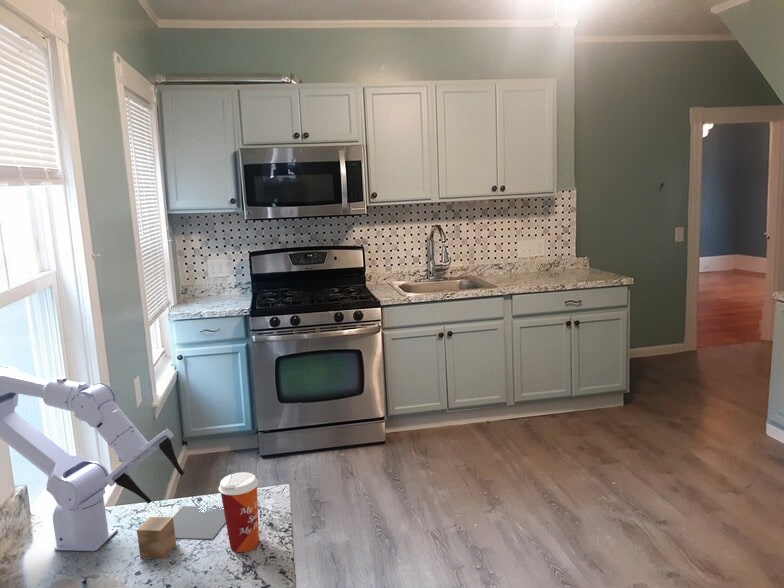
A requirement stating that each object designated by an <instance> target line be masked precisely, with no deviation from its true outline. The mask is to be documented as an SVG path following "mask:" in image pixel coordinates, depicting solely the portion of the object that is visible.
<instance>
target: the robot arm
mask: <svg viewBox="0 0 784 588" xmlns="http://www.w3.org/2000/svg"><path fill="white" fill-rule="evenodd" d="M114 391H115V390H114V389H113V388H112V387H111V386H110V385H108V384H106V383H104V382H97V383H94V384H93V385H92V384H91V385H89V384H88V383H87V382H84V381H83V382H77V381H74V380H73V381H72V380H68V378H67V377H66V376H63V375H62V376H58V377H56V378H53V379H51V380H46V379H42V378H40V377H37V376H33V375H31V374H28V373H25V372H21V371H20V370H19V369H18V367H15V366H10V365H6V364H5V365H1V366H0V440H2V441H4V442H5V444H7V445H8V446H10V447H11V448H12V449H13V450H15V452H17V453H18V454H20V456H22V457H23V458H24V459H26V460H27V461H28V462H30V463H31V464H32V465H34V466H35V467H36V468H37V469H39V470H40V471H41V472H42V473H43V474H44V475H46V476H47V477H48V478H47V482H46V491H47V492H48V493H49V494H50V495H51V496H52V497H53V498H54V500H55V503H57V505H56V506H55V508H54V510H53V513H52V524H53V530H54V531H53V532H54V537H55V543H56V545H55V546H54V547H53V548H54V551H77V552H96V551H98V550H99V549H100V548H101V547H102V546H103V545H104V544H105V543H106V542H108V540H109V539H111V537H113V536H114V535H115V534H116V533H117V532H118V531H119V530H118V528H117V527H115V528H114V527H111V528H110V527H108V520H107V519H108V518H107V512H106V506H105V499H104V496H105V494H106V489H105V488H106V487H108V486H109V487H113V486H114V485H115V484H116V485H117V486H119V487H122V488H124V489H126V490H128V491H130V492H132V493H134V494H135V495H137V497H140V498H141V499H142V500H143V501H145V502H146V504H149V505H150V503H151V502H152V499H150V497H149V496H148V495H147V494H146V493H145V492H144V491H143V490H142V489H141V488H140V487H139V486H138V485H137V483H136V482H135V481H134V479H132V477H131V476H130V474H128V473H129V472H131V471H132V470H133V469H134V468H136V467H137V466H138V465H140V464H141V463H142V462H143V461H144V460H145V459H146V458H148V457H149V456H150V455H151V454H153V453H154V452H155V451H157V450H158V449H159V450H160V451H161V452H162V453H163V454H164V456H166V458H167V460H168V461H170V463H171V464H172V466H173V467H174V468H175V470H176V471H177V473H178V474H179V475H180V476H184V474H185V472H184V471H183V469H182V468H181V466H180V464H179V461H178V459H177V457H176V454H175V450H174V447H173V444H172V440H171V439H172V438H173V437H175V436H174V434H173V432H172V431H171V430H170V429H169V428H168V427H167V428H166V429H164V430H163V431H162V432H160V433H159V434H158V435H156V436H155V437H154V438H152V439H151V440H150V441H148V440H147V439H146V438H145V436H144V435H143V434H142V433H141V432H140V431H139V429H138V428H137V427H136V426H135V425H134V423H133V422H132V421H131V420H130V419H129V417H128V416H127V415H126V414H125V413H124V412H123V410H122V409H121V408H120V407H119V405H118V404H117V403H116V400H117V399H116V394H115V392H114ZM19 394H20V395H22V396H23V395H24V396H29V397H35V398H39V399H40V398H41V399H42V401H43V402H44V404H45V405H47V406H49V407H53V408H57V409H60V410H64V411H69V412H73V413H74V414H73V416H74V417H75V418H77V420H79V421H83V422H85V423H87V425H88V426H89V427H90V428H91V427H92V428H94V429H95V430H96V431H97V433H98V434H100V436H101V437H102V438H103V440H104V441H105V442H106V443H107V444H108V445H109V446H110V448H111V449H112V450H113V451H114V453H115V454H116V456H118V457H119V460H121V461H122V463H121V464H120V465H119V466H117V467H116V468H115V469H114V470H113V471H111V472H110V473H109V471H108V469H107V468H106V467H105V465H104V464H102V463H101V462H99V461H94V460H92V459H90V458H89V457H87V456H86V455H71V454H70V453H68V452H67V451H66V450H64V449H63V448H62V447H60V446H59V445H58V444H57V443H56V442H54V441H52V440H51V438H50V437H48V436H47V435H45V434H44V433H42V432H41V431H40V430H38V429H37V428H36V427H35V426H34V425H32V424H31V423H30V422H29V421H27V420H26V419H24V418H23V417H22V416H21V415H19V414H18V413H17V412H16V411H15V409H16V407H18V404H19ZM133 463H134V464H133Z"/></svg>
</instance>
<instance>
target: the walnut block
mask: <svg viewBox="0 0 784 588" xmlns="http://www.w3.org/2000/svg"><path fill="white" fill-rule="evenodd" d="M136 536H137V543H138V551H139V557H140V559H158V560H159V559H163V560H164V559H165V558H167V556H168V555H169V553H171V551H172V550H173V549H174V548H175V547H176V546H177V541H176V540H177V539H176V538H175V530H174V522H173V516H172V517H171V516H169V517H168V516H167V517H166V516H165V517H164V516H150V517H148V518H147V519H146V520H145V521H144V522H143V523H142V524H141V525H140V526H139V527H138V528H137V529H136Z"/></svg>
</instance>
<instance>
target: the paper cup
mask: <svg viewBox="0 0 784 588" xmlns="http://www.w3.org/2000/svg"><path fill="white" fill-rule="evenodd" d="M258 486H259V480H258V479H257V477H256V475H255V474H253V473H251V472H244V471H243V472H242V471H241V472H234V473H231V474H228V475H225V476H224V477H223V478H222V479H221V480H220V483H219V486H218V492H219V493H220V497H221V502H222V507H223V508H224V514H225V520H226V523H225V525H226V529H227V530H226V531H227V536H228V541H229V545H230V547H229V548H230V549H231V551H232V552H235V553H246V552H249V551H252V550H254V549H256V547H258V546H259V541H260V539H259V538H260V537H259V536H260V535H259V534H260V533H259V532H260V531H259V530H260V529H259V528H260V527H259V510H258V509H259V506H258V501H259V500H258Z"/></svg>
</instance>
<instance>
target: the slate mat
mask: <svg viewBox="0 0 784 588" xmlns="http://www.w3.org/2000/svg"><path fill="white" fill-rule="evenodd" d="M198 506H199V505H198ZM198 506H193V505H189V506H188V505H183V506H181V508H180V509H179V510H178V511H177V512H176V513H175V514H174V515H173V516H172V517H173V522H174V530H175V538H176V540H177V539H178V540H179V539H180V540H186V539H187V540H214V539H215V537H216V536H217V535H218V534H219V532H220V531H221V529H222V528H224V525H226V520H225V514H224V509H222V508H223V506H214V507H215V508H216V509H212V508H209V509H210V510H209V509H207V511H206V512H204V513H203V512H201V511H202V510H203V509H202V510H201V509H198V508H200V506H201V505H200V506H199V507H198ZM219 507H220V508H219ZM221 507H222V508H221ZM220 509H221V510H220ZM200 510H201V511H200ZM208 510H209V511H208ZM211 510H212V511H211ZM199 511H200V512H199ZM204 511H205V510H204Z"/></svg>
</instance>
